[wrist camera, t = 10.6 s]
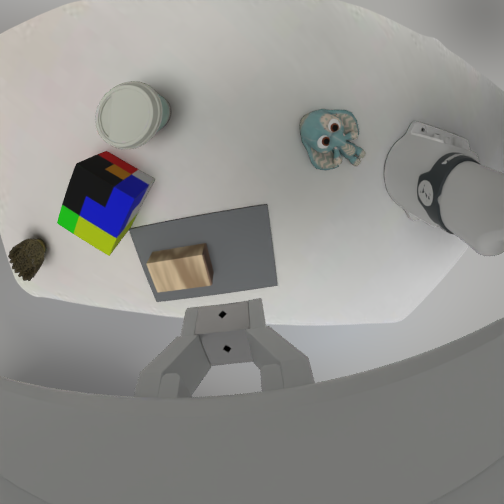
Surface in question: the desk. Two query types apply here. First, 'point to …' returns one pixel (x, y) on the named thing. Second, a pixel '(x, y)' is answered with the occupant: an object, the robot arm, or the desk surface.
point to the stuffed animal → (330, 138)
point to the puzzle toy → (103, 200)
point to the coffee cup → (131, 115)
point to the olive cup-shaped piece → (27, 257)
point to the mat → (216, 249)
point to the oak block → (181, 268)
